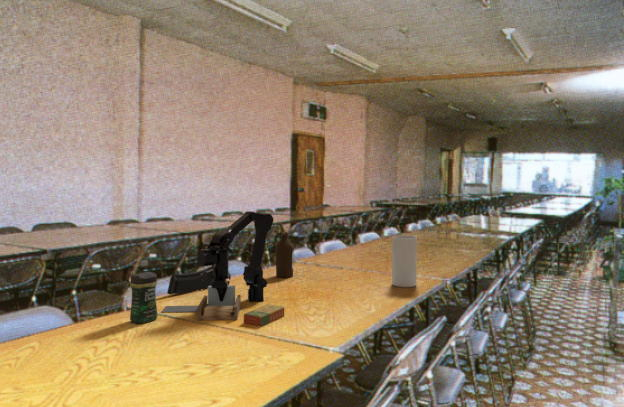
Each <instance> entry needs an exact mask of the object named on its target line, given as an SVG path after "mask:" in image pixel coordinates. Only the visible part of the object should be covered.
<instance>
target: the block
mask: <svg viewBox="0 0 624 407" xmlns="http://www.w3.org/2000/svg"><path fill="white" fill-rule="evenodd" d="M235 302H236V285H234V284H233V285H230V284H229V285H228V288H227V291H226V293H225V296H224V299H223V301H220V299H219V295H218V291H217V289H215V288H211V286H208V288H207V304H208V306H235Z"/></svg>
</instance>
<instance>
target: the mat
mask: <svg viewBox="0 0 624 407" xmlns="http://www.w3.org/2000/svg"><path fill="white" fill-rule="evenodd" d="M198 306H199V304H198V305H166V306H164V308H163V309H162V310H161V311H160V313H161V312H176V313H197V307H198Z"/></svg>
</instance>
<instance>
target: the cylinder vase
mask: <svg viewBox="0 0 624 407" xmlns="http://www.w3.org/2000/svg"><path fill="white" fill-rule="evenodd" d="M391 237H392V239H391V240H392V241H391V242H392V244H391V246H392V248H391V251H392V252H391V254H392V255H391V284H392V285H393V286H395V287H398V288H413V287H416V285H417V280H418V278H417V275H418V271H417V269H418V268H417V267H418V266H417V264H418V236H416V235H415V236H414V235H405V234H404V235H399V234H398V235H392V236H391Z"/></svg>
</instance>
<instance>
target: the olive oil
mask: <svg viewBox="0 0 624 407" xmlns="http://www.w3.org/2000/svg"><path fill="white" fill-rule="evenodd" d="M288 233H289V232H288V231H281V239H280V240H279V241H278V242H277V243H276V245H275V247H274V248H275V249H274V250H275V252H274V254H275V276H276V277H277V278H278V279H279V278H280V279H288V278H289V279H290V278H292V277H294V262H295V246H294V244H293V243H292V242H291V241H290V240H289V239H288V236H289V234H288Z"/></svg>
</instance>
